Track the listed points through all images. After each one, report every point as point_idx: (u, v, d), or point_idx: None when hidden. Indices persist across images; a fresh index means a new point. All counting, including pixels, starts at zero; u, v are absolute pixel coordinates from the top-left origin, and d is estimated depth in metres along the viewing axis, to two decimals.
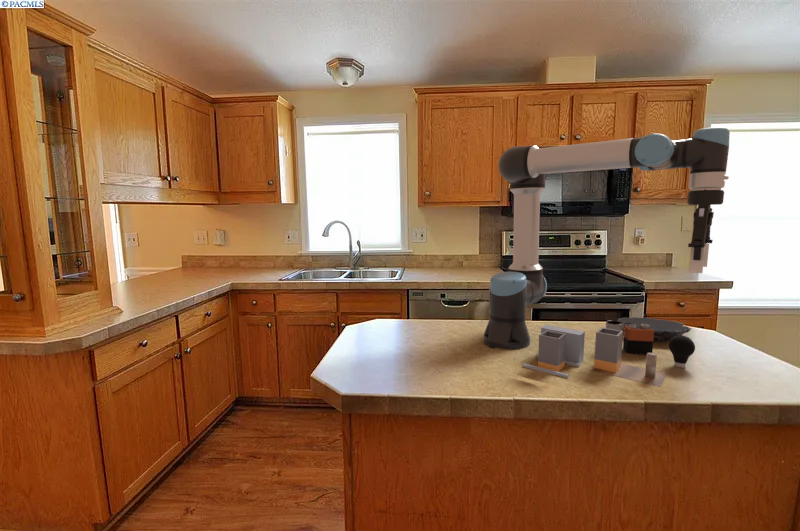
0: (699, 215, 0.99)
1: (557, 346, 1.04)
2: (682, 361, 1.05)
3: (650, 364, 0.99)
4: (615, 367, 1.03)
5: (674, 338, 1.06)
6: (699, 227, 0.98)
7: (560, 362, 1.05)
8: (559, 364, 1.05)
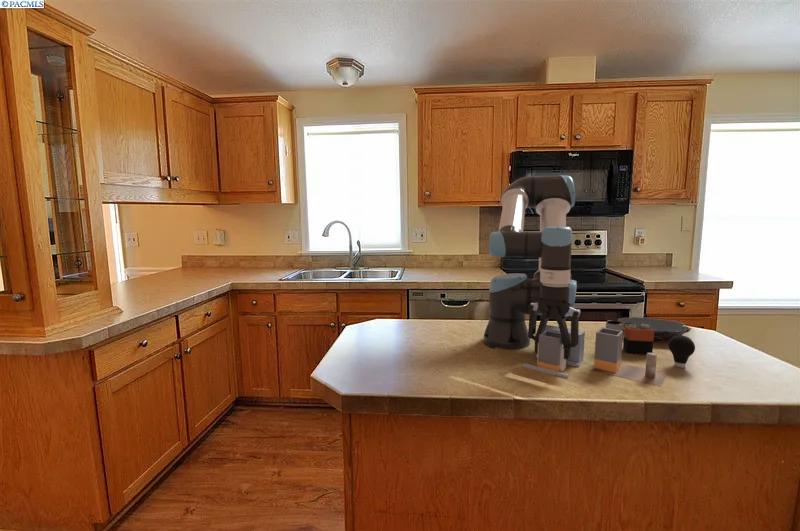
0: None
1: (557, 346, 1.04)
2: (682, 361, 1.05)
3: (650, 364, 0.99)
4: (615, 367, 1.03)
5: (674, 338, 1.06)
6: None
7: None
8: (559, 364, 1.05)
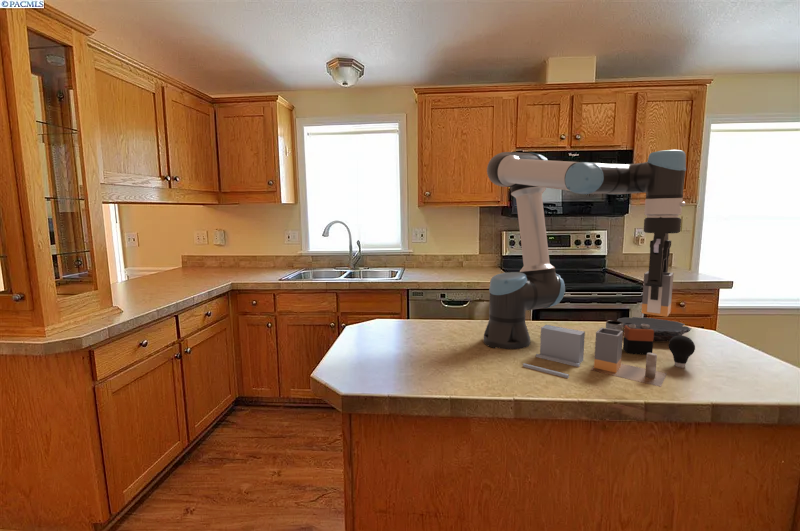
0: (654, 252, 0.92)
1: (672, 281, 0.97)
2: (682, 361, 1.05)
3: (650, 364, 0.99)
4: (615, 367, 1.03)
5: (674, 338, 1.06)
6: (654, 266, 0.92)
7: None
8: None
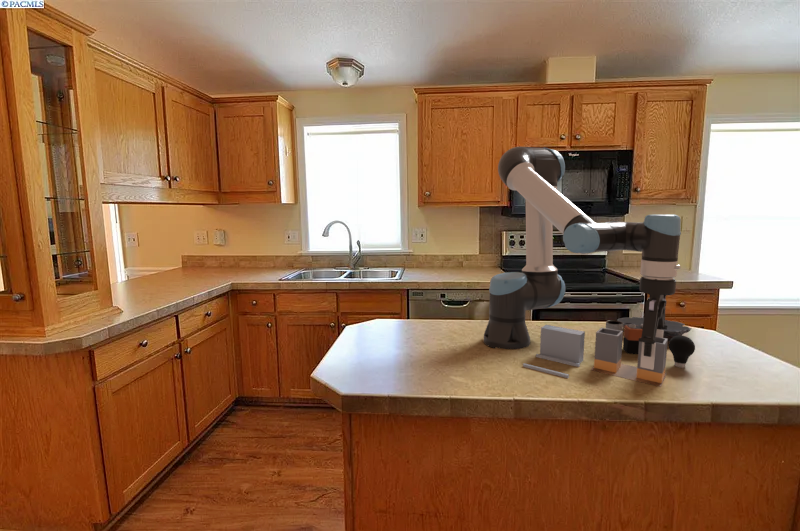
0: (649, 309, 0.93)
1: (666, 347, 0.99)
2: (682, 361, 1.05)
3: None
4: (615, 367, 1.03)
5: (674, 338, 1.06)
6: (649, 322, 0.92)
7: None
8: None
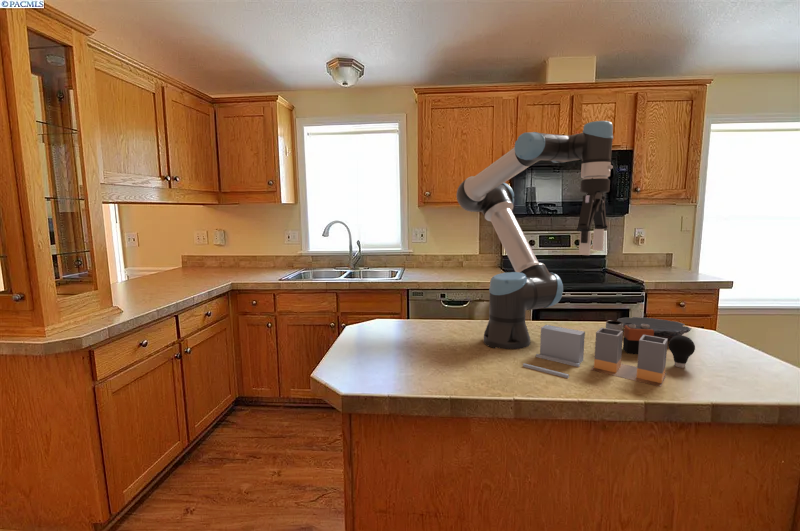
0: (585, 201, 1.08)
1: (666, 347, 0.99)
2: (682, 361, 1.05)
3: None
4: (615, 367, 1.03)
5: (674, 338, 1.06)
6: (584, 212, 1.07)
7: None
8: None
